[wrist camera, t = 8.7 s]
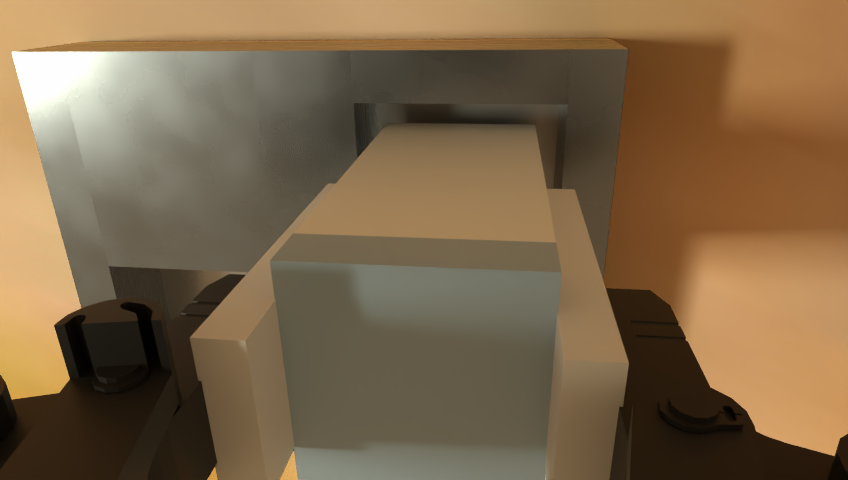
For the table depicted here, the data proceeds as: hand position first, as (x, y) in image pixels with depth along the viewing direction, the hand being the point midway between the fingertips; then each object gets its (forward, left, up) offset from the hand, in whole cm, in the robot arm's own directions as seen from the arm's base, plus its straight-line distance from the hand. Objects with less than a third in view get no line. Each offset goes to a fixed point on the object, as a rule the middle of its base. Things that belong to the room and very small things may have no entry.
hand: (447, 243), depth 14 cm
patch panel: (-4, -3, -6) cm, 7 cm away
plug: (0, 0, -4) cm, 4 cm away
